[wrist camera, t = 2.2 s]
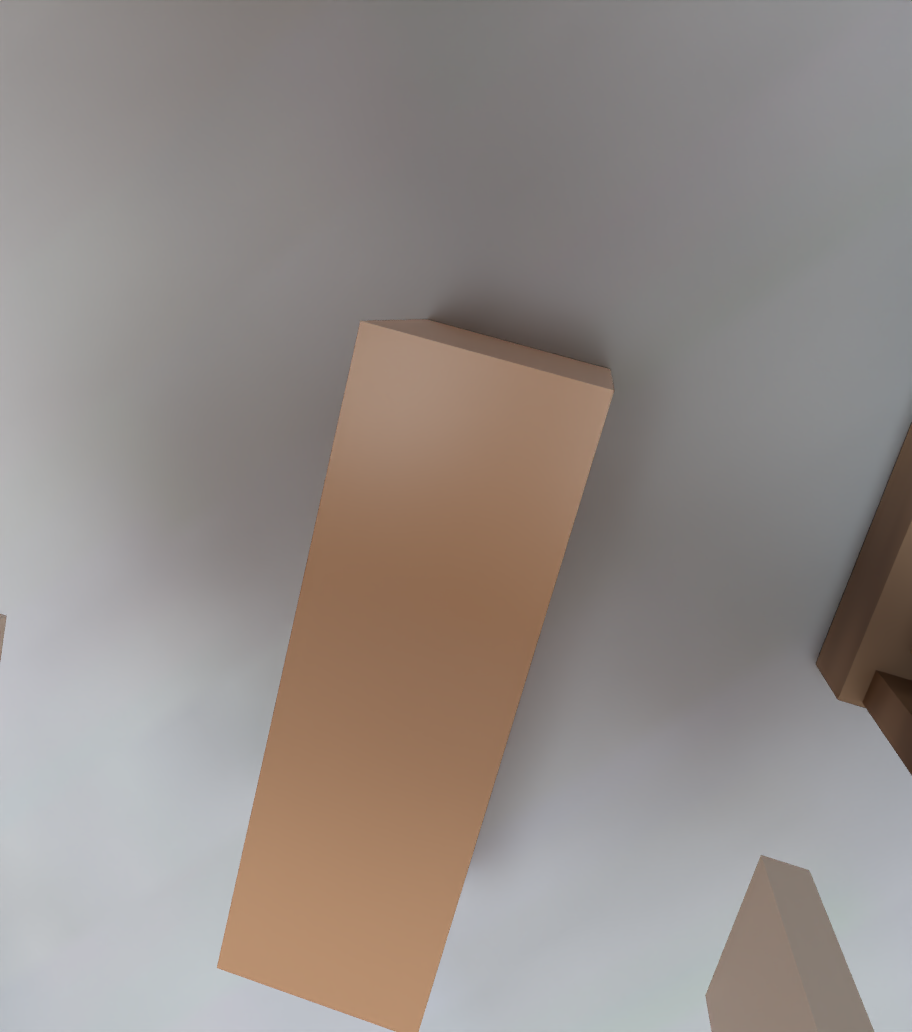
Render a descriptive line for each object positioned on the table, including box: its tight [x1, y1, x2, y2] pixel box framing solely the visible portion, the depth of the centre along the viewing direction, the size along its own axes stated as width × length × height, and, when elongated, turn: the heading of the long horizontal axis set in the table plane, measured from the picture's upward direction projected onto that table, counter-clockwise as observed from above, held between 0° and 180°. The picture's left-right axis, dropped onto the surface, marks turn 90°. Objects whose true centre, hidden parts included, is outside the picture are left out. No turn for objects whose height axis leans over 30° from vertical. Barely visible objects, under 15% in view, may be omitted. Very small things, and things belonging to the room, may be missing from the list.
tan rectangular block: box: [217, 319, 614, 1032], centre depth 19 cm, size 14×4×6 cm, turn 166°
